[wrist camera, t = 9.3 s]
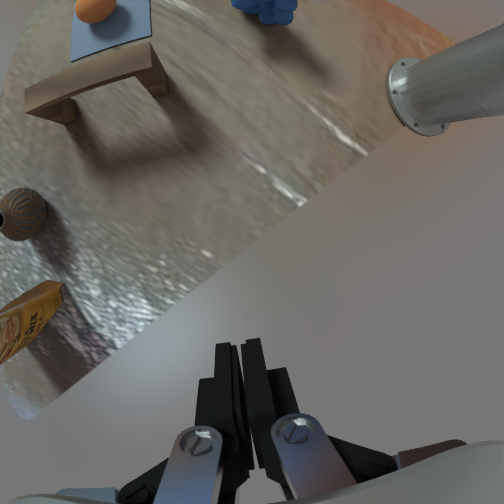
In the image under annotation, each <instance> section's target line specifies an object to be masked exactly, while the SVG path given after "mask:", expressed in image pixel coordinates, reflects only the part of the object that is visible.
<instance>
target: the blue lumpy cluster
mask: <svg viewBox="0 0 504 504" xmlns="http://www.w3.org/2000/svg"><path fill="white" fill-rule="evenodd" d="M231 3H232V6H233V7H235V8H237V9H241V10H243V11H244V12H246V13H250V14H258V16H259V19H260V22H262V23H264V24H268V25H274V24H276V23H278V24H281V25H288V24H290V23H292V21H293V11H295V10H296V8H297V0H231Z"/></svg>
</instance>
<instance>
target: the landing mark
mask: <svg viewBox="0 0 504 504" xmlns="http://www.w3.org/2000/svg"><path fill="white" fill-rule="evenodd" d="M75 4H76V2H75V3H74V13H73V24H72V39H71V62H72V61H74V60H77V59H79V58H82V57H85V56H87V55H90V54H93V53H95V52H98V51H101V50H104V49H107V48H110V47H113V46H116V45H119V44H123V43H126V42H129V41H133V40H137V39H140V38H144V37H148V36H151V24H150V3H149V0H117V3H116V7H115V9H114V11H113V12H112V13H111V15H110V16H108V17H107V18H106V19H104V20H102V21H100V22H97V23H85V22H82V21H81V20H79V19H78V18H77V16H76V14H75Z"/></svg>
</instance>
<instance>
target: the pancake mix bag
mask: <svg viewBox="0 0 504 504" xmlns="http://www.w3.org/2000/svg"><path fill="white" fill-rule="evenodd" d="M62 284H63V282H56V281H51V280H47V281H44V282H42V283H40V284H38V285H37V286H35V287H34V288H32V289H31V290H28V291H26V292H25V293H23V294H22V295H21V296H20V297H18V298H16V299H14V300H13V301H11V302H10V303H9V304H7V305H6V306H5V307H3V308H2V309H1V310H0V365H1V364H2V363H3V362H5V361H6V360H8V359H9V358H10V357H12V356H13V355H14V354H16V353H17V352H19V351H20V350H21V349H23V348H24V347H26V346H27V345H29V344H30V343H31V341H32V340H33V339H34V338H35V337H36V336H37V334H38V333H39V332H40V331H41V330H42V328H43V327H44V326H45V325H46V323H47V322H48V321H49V320H50V318H51V317H52V316H53V315H54V314H55V313H56V312H57V310H58V308H59V307H60V305H61V303H62V302H63V297H62V294H61V291H60V289H61V287H62Z"/></svg>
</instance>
